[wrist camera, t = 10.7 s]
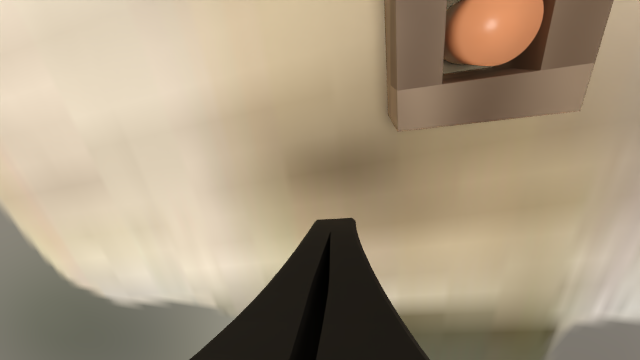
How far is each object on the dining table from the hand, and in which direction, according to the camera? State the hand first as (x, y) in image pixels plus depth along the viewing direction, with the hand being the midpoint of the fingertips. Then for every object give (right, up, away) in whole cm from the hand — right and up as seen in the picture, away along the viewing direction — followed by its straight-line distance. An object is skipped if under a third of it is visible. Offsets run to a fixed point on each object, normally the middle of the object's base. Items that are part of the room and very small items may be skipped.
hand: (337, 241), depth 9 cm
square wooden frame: (+7, +10, +5) cm, 14 cm away
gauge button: (+7, +10, +4) cm, 13 cm away
